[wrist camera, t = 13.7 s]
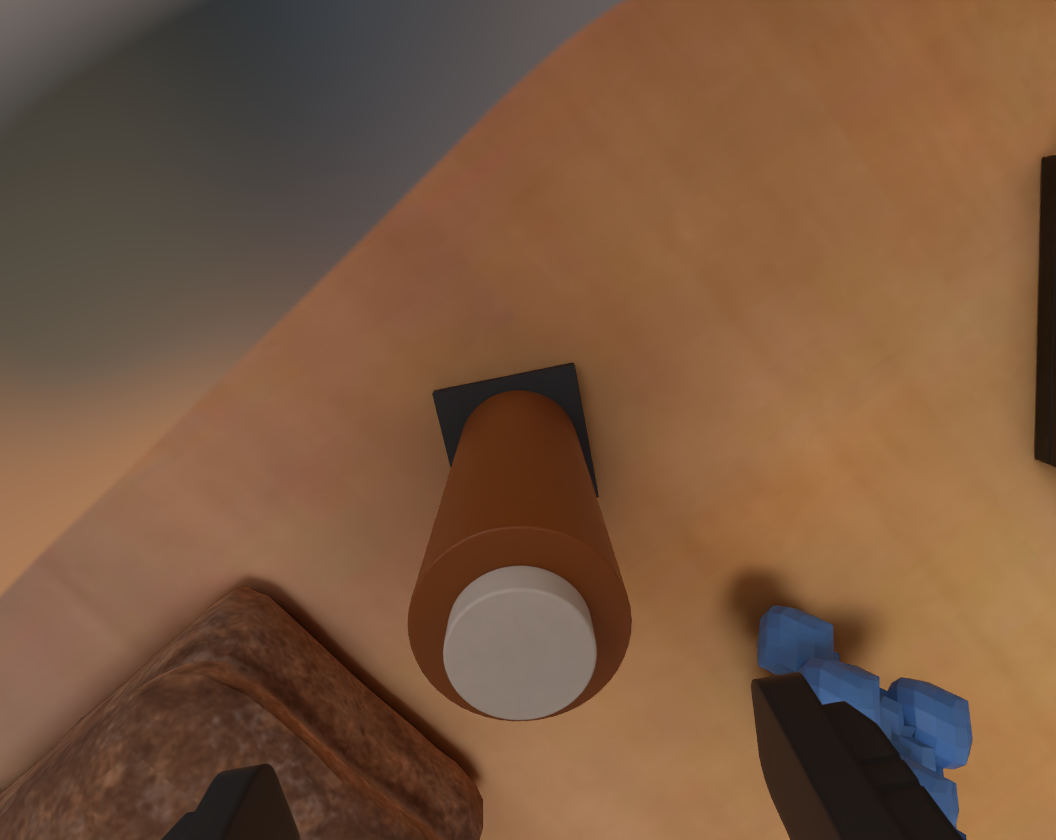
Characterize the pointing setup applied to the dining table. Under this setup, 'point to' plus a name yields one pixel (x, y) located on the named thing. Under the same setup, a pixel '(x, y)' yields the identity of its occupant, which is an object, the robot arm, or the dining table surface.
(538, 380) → the coaster
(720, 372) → the dining table surface
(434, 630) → the amber bottle
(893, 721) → the grapes
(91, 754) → the bread
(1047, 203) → the black hinged box
